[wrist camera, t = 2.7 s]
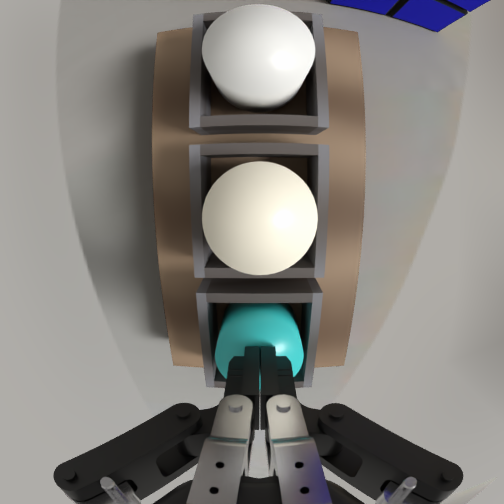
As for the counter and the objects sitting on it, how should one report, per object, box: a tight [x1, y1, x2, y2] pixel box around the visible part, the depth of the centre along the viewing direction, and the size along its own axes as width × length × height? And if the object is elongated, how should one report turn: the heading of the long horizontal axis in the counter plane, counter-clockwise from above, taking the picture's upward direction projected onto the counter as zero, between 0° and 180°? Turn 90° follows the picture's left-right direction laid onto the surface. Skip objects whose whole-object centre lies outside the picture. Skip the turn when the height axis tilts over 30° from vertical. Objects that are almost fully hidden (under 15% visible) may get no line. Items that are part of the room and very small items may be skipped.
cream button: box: [202, 161, 318, 275], centre depth 13 cm, size 4×4×4 cm
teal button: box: [215, 303, 304, 379], centre depth 15 cm, size 4×4×4 cm
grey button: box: [202, 4, 315, 112], centre depth 11 cm, size 4×4×4 cm
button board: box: [152, 12, 366, 388], centre depth 16 cm, size 22×12×6 cm, turn 0°
